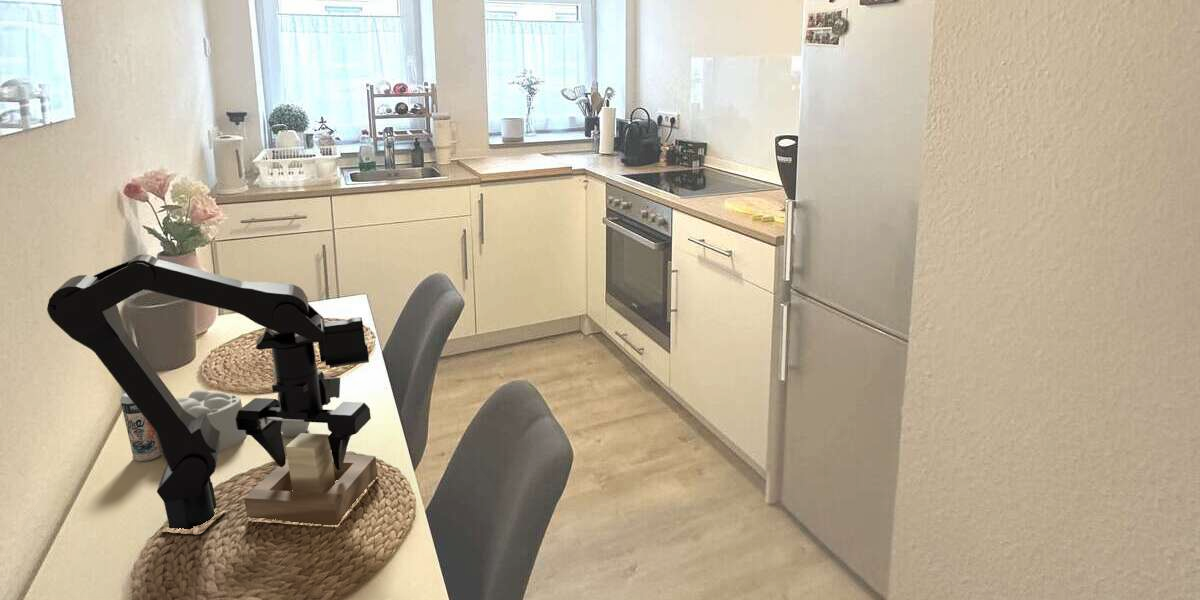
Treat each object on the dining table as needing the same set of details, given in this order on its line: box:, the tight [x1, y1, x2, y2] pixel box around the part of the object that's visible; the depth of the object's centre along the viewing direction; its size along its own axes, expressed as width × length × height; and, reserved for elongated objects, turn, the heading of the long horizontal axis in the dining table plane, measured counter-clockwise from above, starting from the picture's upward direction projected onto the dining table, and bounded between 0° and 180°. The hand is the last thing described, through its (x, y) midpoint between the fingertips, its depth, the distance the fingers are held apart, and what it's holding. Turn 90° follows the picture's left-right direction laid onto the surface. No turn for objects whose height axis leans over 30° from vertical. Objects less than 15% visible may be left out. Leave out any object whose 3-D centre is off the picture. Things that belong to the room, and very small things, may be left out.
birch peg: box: [285, 432, 335, 493], centre depth 122 cm, size 4×4×10 cm
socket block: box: [243, 453, 379, 525], centre depth 122 cm, size 14×14×4 cm
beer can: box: [119, 391, 163, 462], centre depth 136 cm, size 5×5×12 cm
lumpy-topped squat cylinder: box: [175, 389, 248, 452], centre depth 141 cm, size 10×13×9 cm
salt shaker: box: [272, 367, 311, 438], centre depth 143 cm, size 6×6×13 cm
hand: (311, 467), depth 121 cm, fingers open, 9 cm apart
